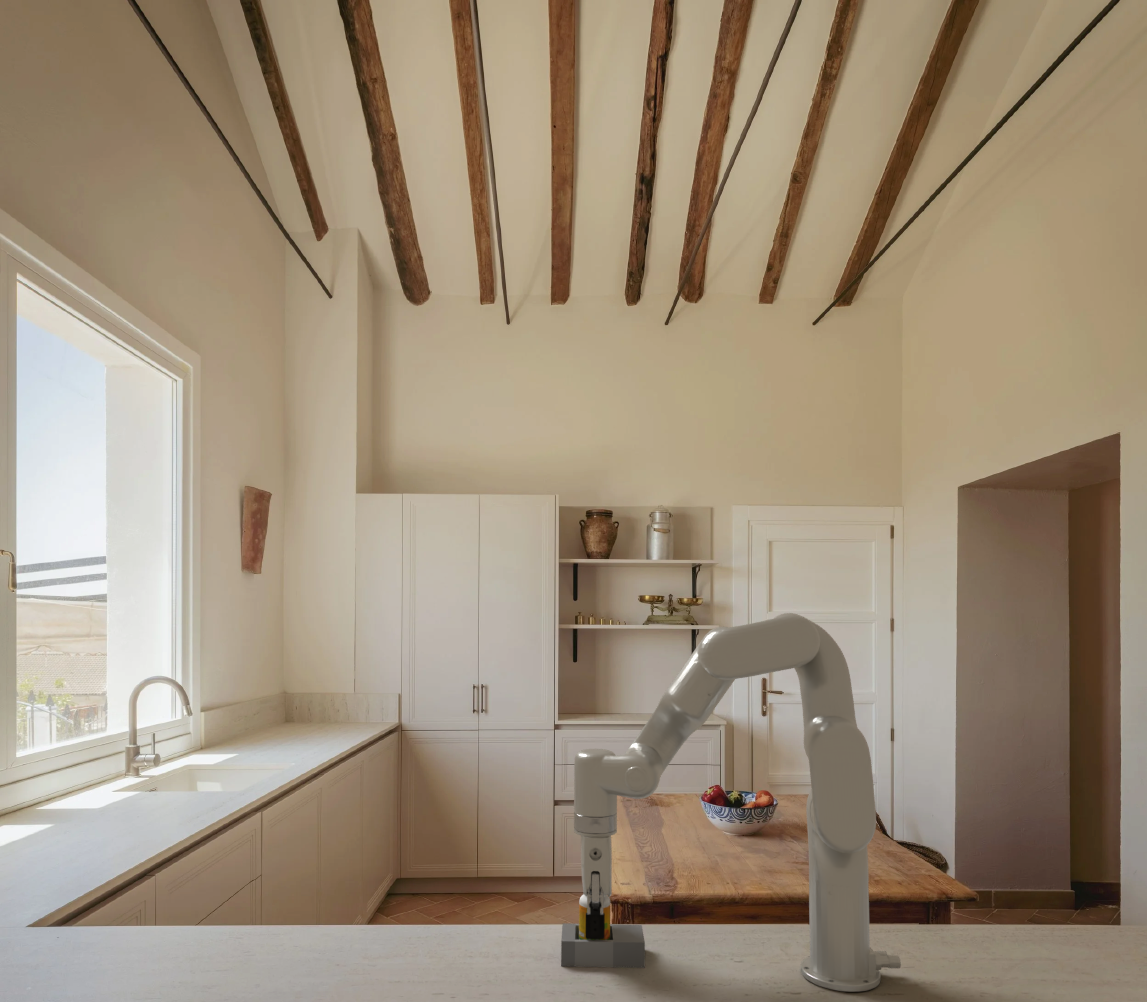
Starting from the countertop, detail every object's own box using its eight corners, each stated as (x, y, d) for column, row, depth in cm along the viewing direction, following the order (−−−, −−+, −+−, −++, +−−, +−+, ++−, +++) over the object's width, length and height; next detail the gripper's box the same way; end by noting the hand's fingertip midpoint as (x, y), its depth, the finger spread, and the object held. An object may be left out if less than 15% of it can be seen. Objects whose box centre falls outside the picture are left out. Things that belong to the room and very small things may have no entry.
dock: (641, 948, 157) (641, 924, 157) (644, 967, 149) (644, 942, 149) (562, 947, 157) (562, 923, 157) (561, 966, 149) (561, 941, 149)
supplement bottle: (583, 949, 150) (584, 889, 151) (575, 937, 155) (575, 879, 156) (614, 946, 151) (614, 887, 152) (604, 934, 156) (604, 877, 157)
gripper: (618, 836, 147) (618, 951, 145) (615, 811, 164) (614, 913, 162) (573, 836, 147) (572, 951, 145) (574, 810, 164) (573, 913, 162)
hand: (594, 930), depth 153 cm, fingers closed on supplement bottle, 5 cm apart
